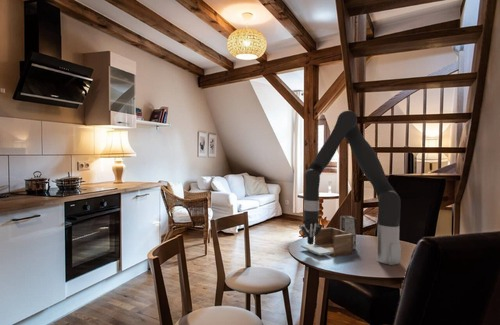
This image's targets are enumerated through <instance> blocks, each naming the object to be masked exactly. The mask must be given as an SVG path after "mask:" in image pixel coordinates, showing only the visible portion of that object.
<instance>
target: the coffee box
mask: <svg viewBox="0 0 500 325" xmlns="http://www.w3.org/2000/svg"><path fill="white" fill-rule="evenodd" d="M339 219H340V220H339V230H342V231H345V232H348V233H351V234H353V250H356V249H357V248H356V247H357V218H356V217H354V216H352V215H340V218H339Z"/></svg>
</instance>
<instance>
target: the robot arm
mask: <svg viewBox="0 0 500 325" xmlns="http://www.w3.org/2000/svg"><path fill="white" fill-rule="evenodd" d="M344 138H345V139H346V140H347V142H348V145H349V146H350V150H351V151H352V154H353V156H354V159H355V160H356V162H357V165H358V166H359V168H360V170H361V172H362V173H363V174H364V176H365V177H366V179H367V180H368V181H369V183H370V184H371V185H372V187H373V190H374V192H375V195H376V197H377V202H378V205H377V206H378V207H377V208H378V209H377V210H378V211H377V214H378V215H377V234H376V235H377V240H376V244H377V246H376V261H377V262H379V263H381V264H385V265H390V266H393V265H399V264H401V252H402V251H401V250H402V248H401V247H402V244H401V242H400V222H401V206H402V205H401V203H402V202H401V197H400V196H399V194H398V193H397V192H396V190H395V189H394V187H393V186H392V184H391V183H390V182H389V180H388V178H387V176H386V174H385V171H384V168H383V166H382V163H381V161H380V159H379V157H378V156H377V154H376V151H375V150H374V148H373V147H372V145H371V144H370V143H369V142H368V141H367V140H366V138H365V137H364V135H363V134H362V132H361V130H360V128H359V125H358V117H357V114H356V113H355V112H354V111H353V110H344V111H342V112H340V113H339V115H338V116H337V119H336V122H335V125H334V127H333V129H332V131H331V133H330V134H329V136H328V138H327V139H326V141H325V142H324V143H323V145H322V146H321V147H320V150H319V151H318V152H317V154H316V156H315V158H314V159H313V160H312V161H313V162H311V164H310V165H309V166H308V168H307V169H306V170H305V172H304V178H305V179H304V181H305V189H304V195H303V196H304V199H303V222H302V225H299V226H298V227H299V229H300V230H301V232H302V234H303V235H304V236H306V237H307V239H306V240H307V244H310V245H311V244H314V243H315V235H317V234H318V233H319V231H320V230H321V228H323V224H321V223H320V221H319V218H320V190H319V189H320V183H321V182H320V180H321V174H322V173H323V171H324V169H326V167H328V166H329V164H330V162H331V160H332V159H333V158H334V156H335V154H336V152H337V150H338V148H339V146H340V144H341V143H342V141H343V140H344Z"/></svg>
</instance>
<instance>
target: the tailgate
mask: <svg viewBox="0 0 500 325" xmlns="http://www.w3.org/2000/svg"><path fill="white" fill-rule="evenodd" d="M300 247H301V248H303V249H305V250H307V252H309V253H311V254H313V255H318V256H324V255H328V254H331V253H332V251H330V250H327V249H325V248H322V247H320V246H318V245H315V244H314V243H313V244H311V245H310V244H308V243H307V244H301V245H300Z"/></svg>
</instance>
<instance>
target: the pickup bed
mask: <svg viewBox="0 0 500 325" xmlns="http://www.w3.org/2000/svg"><path fill="white" fill-rule="evenodd" d="M313 244H315V245H318V246H320V247H322V248H325V249H327V250H330V251H332V253H331V254H327V255H328V256H331V257H333V258H337V257H338V258H339V257H343V256H348V255H353V253H354V252H353V251H354V249H353V234H351V233H348V232H345V231H342V230H340V228H339V229H338V228H334V227H332V226H331V227H322V228H321V230H320V231H319V233H318V234H317V235H315V236H314V243H313Z"/></svg>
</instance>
